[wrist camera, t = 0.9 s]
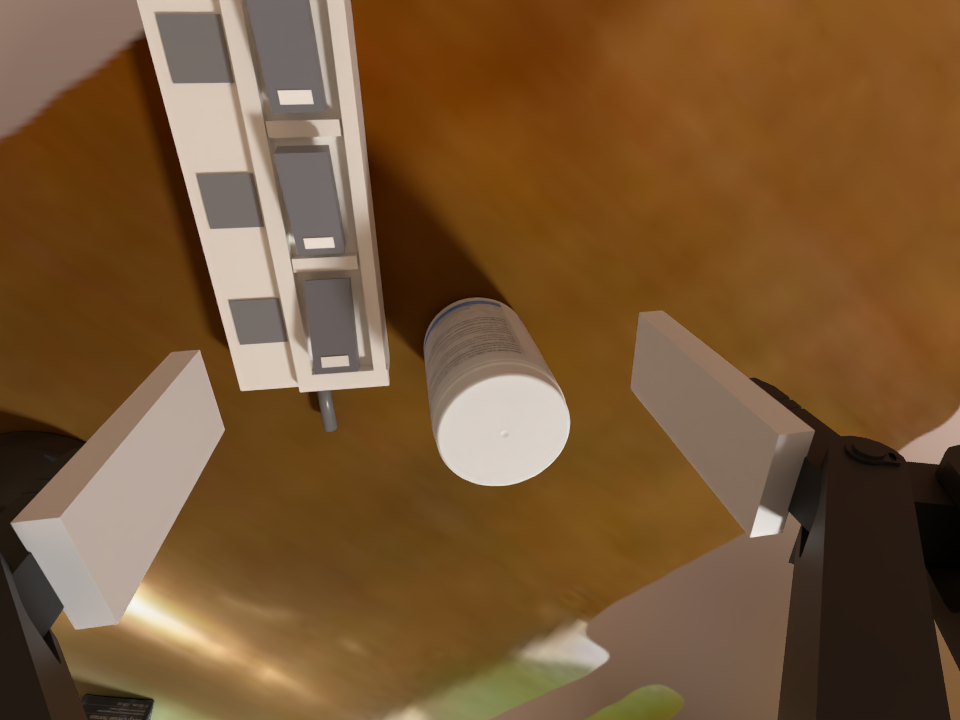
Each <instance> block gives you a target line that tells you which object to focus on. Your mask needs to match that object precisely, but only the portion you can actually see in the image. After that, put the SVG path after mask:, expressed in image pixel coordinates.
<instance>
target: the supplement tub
mask: <svg viewBox="0 0 960 720" xmlns="http://www.w3.org/2000/svg"><path fill="white" fill-rule="evenodd" d="M424 359H425V368H426V378H427V387H428V396H429V406H430V415H431V422H432V429H433V434H434V437H435V441H436V444H437V447H438V450H439V453H440V455H441V457H442V459H443V461H444V462H445V464H446V465H447V466H448V467H449V468H450V469H451V470H452V471H453V472H454V473H455V474H457V475H458V476H460V477H461V478H463V479H465V480H467V481H470V482H473V483H476V484H480V485H486V486H503V485H510V484H515V483H518V482H522V481H524V480H527V479H529V478H531V477H533V476H535V475H537V474H539V473H540V472H542V471H543V470H544V469H546V468H547V467H548V466H549V465H550V464H551V463H552V462H553V461H554V460H555V459H556V458H557V457H558V455H559V454H560V453H561V451H562V449H563V448H564V445H565V443H566V441H567V438H568V435H569V430H570V416H569V411H568V408H567V405H566V402H565V398H564V395H563V393H562V391H561V389H560V387H559V385H558V384H557V382H556V380H555V378H554V376H553V375H552V373H551V371H550V369H549V368H548V366H547V364H546V362H545V361H544V359H543V357H542V355H541V354H540V352H539V350H538V348H537V347H536V345H535V343H534V341H533V340H532V338H531V336H530V335H529V333H528V331H527V329H526V328H525V326H524V324H523V323H522V321H521V319H520V318H519V317H518V315H517V314H516V313H515V312H514V311H513V310H512V309H511V308H510V307H508V306H507V305H505V304H503V303H501V302H499V301H496V300H493V299H488V298H479V297H475V298H467V299H462V300H459V301H457V302H454V303H452V304H450V305H449V306H447V307H445V308H444V309H443V310H442V311H440V312H439V313H438V314H437V315H436V316H435V318H434V319H433V320H432V322H431V324H430V325H429V327H428V329H427V332H426V335H425V340H424Z"/></svg>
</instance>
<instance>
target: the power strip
mask: <svg viewBox="0 0 960 720" xmlns="http://www.w3.org/2000/svg"><path fill="white" fill-rule="evenodd" d="M309 1H310V7H311V12H312V18H313V24H314V30H315V36H316V42H317V48H318V54H319V60H320V66H321V72H322V78H323V84H324V90H325V96H326V102H327V108H326V111H325V112H316V113H272V109H271V104H270V100H269V96H268V92H267V87H266V83H265V79H264V75H263V70H262V66H261V62H260V58H259V53H258V49H257V45H256V41H255V36H254V32H253V28H252V24H251V19H250V15H249V11H248V7H247V2H246V0H137V4H138V8H139V11H140V15H141V18H142V23H143V26H144V30H145V34H146V38H147V41H148V45H149V49H150V53H151V56H152V60H153V64H154V68H155V71H156V75H157V79H158V82H159V86H160V90H161V94H162V97H163V101H164V105H165V109H166V112H167V116H168V120H169V124H170V127H171V131H172V135H173V139H174V142H175V146H176V150H177V154H178V157H179V161H180V165H181V169H182V172H183V176H184V180H185V184H186V187H187V191H188V195H189V199H190V202H191V206H192V210H193V214H194V217H195V221H196V225H197V228H198V232H199V236H200V240H201V243H202V247H203V251H204V255H205V258H206V262H207V266H208V270H209V273H210V277H211V281H212V285H213V288H214V292H215V296H216V300H217V303H218V307H219V311H220V315H221V318H222V322H223V326H224V330H225V333H226V337H227V341H228V345H229V348H230V352H231V356H232V359H233V363H234V367H235V371H236V374H237V378H238V382H239V386H240V389H241V391H248V390H261V389H274V388H287V387H299V390H300V392H311V391H317V395H318V401H319V406H320V411H321V417H322V422H323V427H324V430H325V431H327V432H331V431H334V430H336V429H337V423H336V417H335V412H334V406H333V400H332V394H331V390H337V389H350V388H363V387H376V386H388V385H389V380H390V379H389V362H390V357H389V348H388V339H387V329H386V320H385V311H384V302H383V293H382V284H381V274H380V265H379V256H378V247H377V238H376V229H375V220H374V210H373V201H372V192H371V183H370V174H369V165H368V155H367V146H366V137H365V128H364V119H363V110H362V100H361V91H360V82H359V73H358V64H357V55H356V45H355V36H354V27H353V18H352V9H351V0H309ZM303 145H329V148H330V154H331V160H332V166H333V171H334V177H335V183H336V189H337V194H338V200H339V206H340V212H341V217H342V223H343V229H344V235H345V240H346V248H345V253H337V254H317V255H298V252H297V248H296V244H295V239H294V235H293V231H292V227H291V223H290V219H289V215H288V211H287V207H286V203H285V199H284V195H283V191H282V187H281V183H280V179H279V174H278V170H277V166H276V162H275V158H274V152H275V150H276V148H277V146H303ZM348 277H351V285H352V295H353V304H354V314H355V323H356V333H357V343H358V352H359V362H360V368H359V371H358V372H344V373H331V374H317V375H315V372H314V364H313V356H312V348H311V340H310V332H309V324H308V316H307V308H306V300H305V292H304V284H303V281H305V280H311V279H329V278H348Z"/></svg>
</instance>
